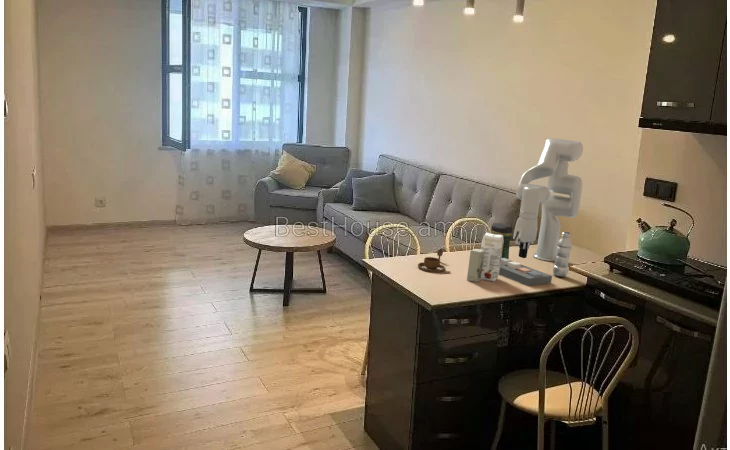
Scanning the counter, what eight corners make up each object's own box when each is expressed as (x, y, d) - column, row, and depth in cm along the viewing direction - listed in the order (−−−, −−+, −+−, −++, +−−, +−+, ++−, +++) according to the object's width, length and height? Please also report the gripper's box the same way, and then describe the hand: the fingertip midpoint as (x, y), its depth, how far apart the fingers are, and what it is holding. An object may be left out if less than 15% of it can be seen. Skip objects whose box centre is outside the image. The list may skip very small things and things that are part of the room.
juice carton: (496, 282, 265) (502, 238, 261) (476, 278, 267) (481, 234, 264) (499, 278, 272) (505, 234, 268) (479, 274, 274) (485, 231, 271)
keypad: (508, 266, 292) (509, 260, 291) (551, 283, 272) (552, 275, 271) (486, 269, 284) (487, 262, 284) (528, 285, 264) (529, 278, 263)
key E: (533, 275, 273) (534, 271, 273) (540, 278, 270) (541, 274, 269) (527, 276, 271) (527, 272, 270) (534, 279, 268) (535, 274, 267)
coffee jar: (510, 264, 297) (516, 225, 293) (500, 266, 292) (505, 226, 288) (494, 259, 304) (499, 221, 300) (483, 260, 299) (488, 222, 295)
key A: (513, 265, 283) (514, 261, 282) (520, 268, 279) (521, 264, 279) (507, 266, 280) (508, 262, 280) (513, 269, 277) (514, 264, 277)
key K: (504, 262, 287) (504, 257, 287) (510, 264, 284) (511, 260, 284) (497, 262, 285) (498, 258, 285) (504, 265, 282) (504, 260, 282)
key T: (523, 272, 278) (524, 267, 277) (530, 274, 275) (531, 270, 274) (516, 272, 276) (517, 268, 275) (523, 275, 272) (524, 270, 272)
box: (476, 282, 262) (480, 252, 259) (466, 280, 264) (470, 250, 261) (480, 280, 266) (484, 250, 264) (471, 277, 269) (475, 248, 266)
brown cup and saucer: (406, 266, 279) (408, 253, 278) (437, 261, 292) (439, 248, 291) (436, 277, 267) (437, 263, 265) (467, 271, 280) (468, 258, 278)
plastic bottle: (559, 278, 280) (566, 234, 275) (548, 274, 285) (555, 231, 281) (570, 278, 283) (577, 234, 278) (559, 273, 288) (566, 230, 284)
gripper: (533, 213, 279) (527, 253, 283) (509, 214, 271) (503, 256, 274) (547, 217, 273) (540, 258, 277) (523, 218, 265) (516, 260, 268)
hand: (522, 257), depth 276 cm, fingers closed
